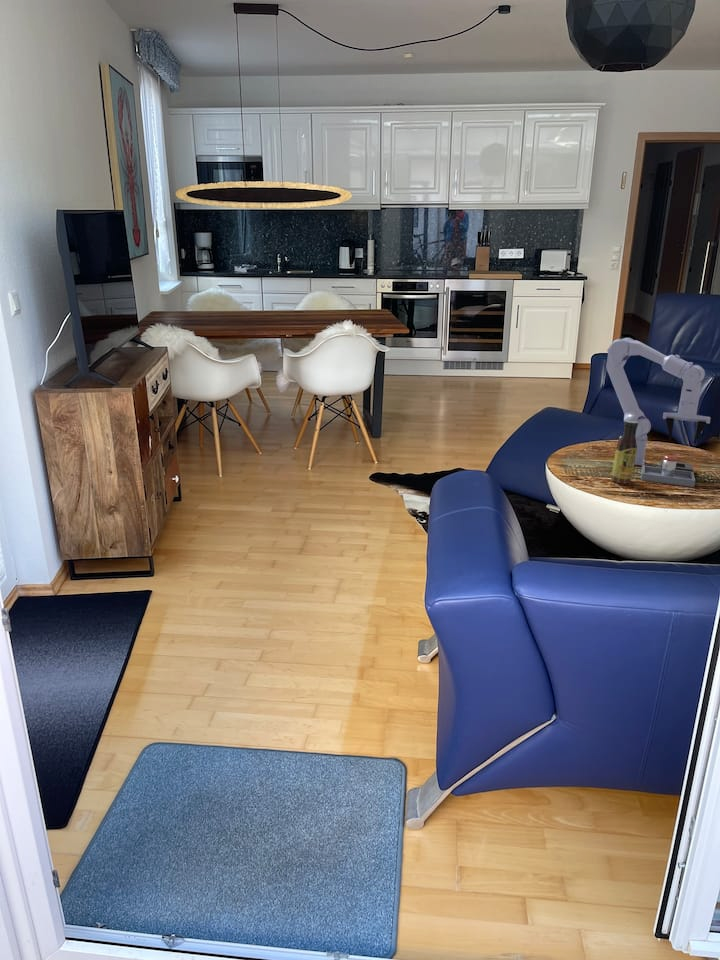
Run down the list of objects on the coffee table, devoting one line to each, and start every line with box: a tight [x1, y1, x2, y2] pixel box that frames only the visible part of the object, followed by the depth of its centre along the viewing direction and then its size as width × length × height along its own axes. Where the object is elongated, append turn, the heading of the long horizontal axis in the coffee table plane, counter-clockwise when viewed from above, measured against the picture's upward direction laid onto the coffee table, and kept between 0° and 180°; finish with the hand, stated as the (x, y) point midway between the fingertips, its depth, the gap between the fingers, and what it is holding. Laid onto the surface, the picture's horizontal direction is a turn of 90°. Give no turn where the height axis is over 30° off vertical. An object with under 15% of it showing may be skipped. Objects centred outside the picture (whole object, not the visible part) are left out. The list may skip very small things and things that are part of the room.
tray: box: [640, 465, 696, 488], centre depth 238 cm, size 16×11×2 cm
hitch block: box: [659, 459, 694, 472], centre depth 247 cm, size 10×8×2 cm
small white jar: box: [661, 454, 678, 477], centre depth 237 cm, size 4×4×7 cm
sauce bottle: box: [610, 420, 638, 485], centre depth 230 cm, size 7×6×20 cm
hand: (682, 441), depth 245 cm, fingers open, 7 cm apart
